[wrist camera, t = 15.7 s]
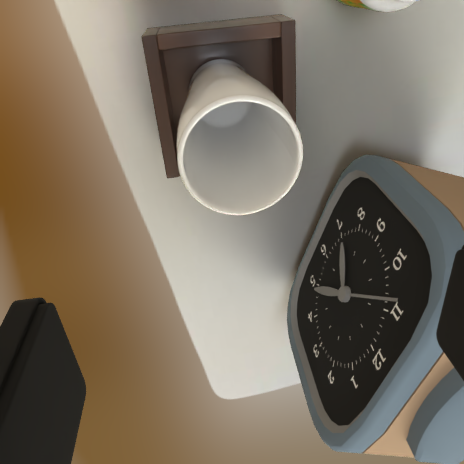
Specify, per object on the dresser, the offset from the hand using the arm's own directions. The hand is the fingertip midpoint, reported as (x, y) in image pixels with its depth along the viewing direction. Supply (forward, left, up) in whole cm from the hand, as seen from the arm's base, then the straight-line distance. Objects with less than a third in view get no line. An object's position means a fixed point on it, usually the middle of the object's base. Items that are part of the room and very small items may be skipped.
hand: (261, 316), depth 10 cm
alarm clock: (+13, -18, -29) cm, 36 cm away
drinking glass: (+1, -1, -28) cm, 28 cm away
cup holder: (+1, -2, -29) cm, 29 cm away
